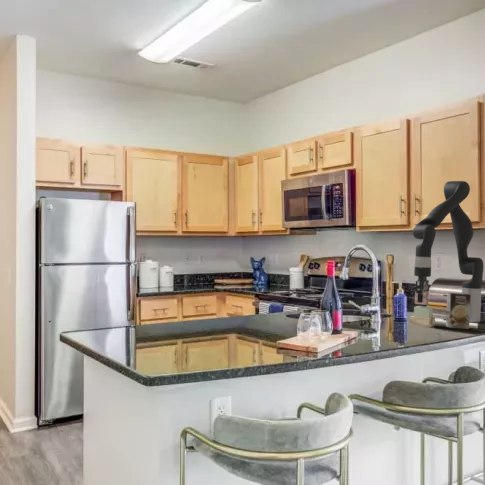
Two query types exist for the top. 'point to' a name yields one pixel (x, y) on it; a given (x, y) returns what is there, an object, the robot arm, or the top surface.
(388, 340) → the top surface
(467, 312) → the coffee box
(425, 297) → the rose block
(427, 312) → the tower mid
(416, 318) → the tower base
